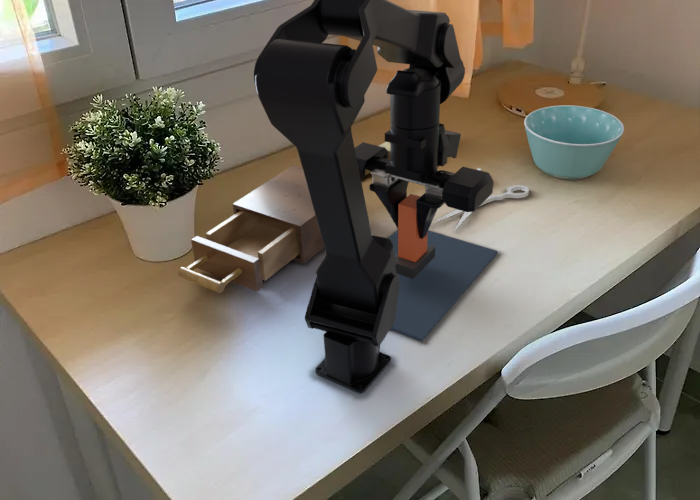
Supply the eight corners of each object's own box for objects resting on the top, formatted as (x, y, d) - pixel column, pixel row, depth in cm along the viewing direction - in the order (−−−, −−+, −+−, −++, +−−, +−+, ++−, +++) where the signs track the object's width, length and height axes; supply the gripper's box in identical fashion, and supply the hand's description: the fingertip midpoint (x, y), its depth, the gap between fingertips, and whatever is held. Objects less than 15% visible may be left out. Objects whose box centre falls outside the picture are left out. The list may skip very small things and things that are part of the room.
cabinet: (303, 264, 98) (300, 226, 94) (237, 240, 104) (232, 203, 100) (359, 219, 108) (358, 183, 104) (295, 199, 113) (292, 165, 110)
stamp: (413, 279, 90) (414, 215, 85) (389, 271, 92) (388, 207, 87) (435, 256, 94) (437, 194, 89) (411, 249, 96) (412, 188, 91)
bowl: (612, 196, 111) (622, 148, 106) (512, 183, 116) (517, 136, 111) (617, 154, 123) (626, 110, 118) (526, 144, 128) (531, 101, 123)
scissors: (536, 184, 113) (472, 237, 100) (535, 188, 114) (472, 241, 101) (478, 167, 119) (411, 215, 106) (478, 171, 119) (411, 220, 106)
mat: (422, 341, 83) (422, 338, 83) (319, 301, 90) (319, 299, 90) (497, 253, 98) (497, 250, 98) (404, 225, 106) (404, 223, 105)
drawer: (232, 312, 88) (227, 282, 85) (169, 285, 93) (163, 257, 91) (317, 244, 100) (315, 216, 98) (257, 224, 106) (254, 197, 103)
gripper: (517, 112, 83) (505, 225, 92) (382, 86, 92) (383, 191, 101) (476, 147, 76) (468, 266, 84) (334, 114, 84) (339, 225, 93)
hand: (412, 234), depth 91 cm, fingers closed on stamp, 2 cm apart
